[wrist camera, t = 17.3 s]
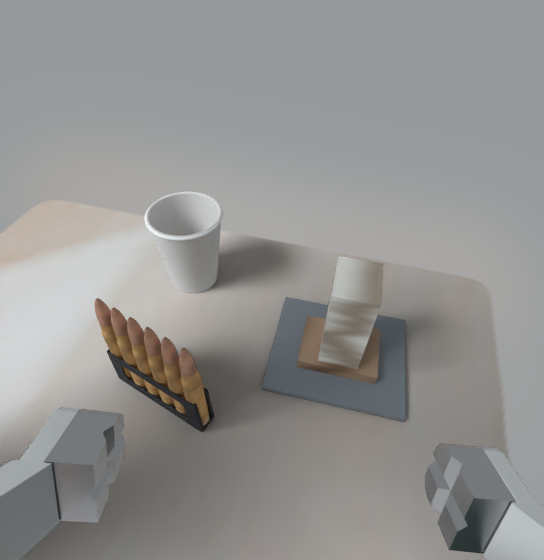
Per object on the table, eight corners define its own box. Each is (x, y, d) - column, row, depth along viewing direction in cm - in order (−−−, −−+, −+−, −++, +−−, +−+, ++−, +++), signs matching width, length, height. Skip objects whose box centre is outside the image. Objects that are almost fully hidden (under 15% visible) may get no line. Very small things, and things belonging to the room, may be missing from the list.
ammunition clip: (214, 416, 37) (201, 345, 28) (202, 432, 36) (185, 364, 27) (132, 364, 40) (97, 286, 32) (118, 377, 39) (79, 301, 31)
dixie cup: (226, 252, 52) (221, 189, 45) (229, 299, 47) (224, 235, 40) (163, 256, 52) (148, 192, 44) (158, 304, 46) (140, 240, 39)
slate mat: (261, 389, 39) (261, 386, 38) (285, 300, 47) (286, 297, 46) (403, 421, 37) (405, 419, 36) (403, 323, 45) (405, 320, 45)
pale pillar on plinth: (296, 366, 40) (306, 296, 32) (306, 321, 44) (317, 248, 36) (374, 384, 39) (406, 315, 31) (377, 336, 43) (405, 263, 35)
